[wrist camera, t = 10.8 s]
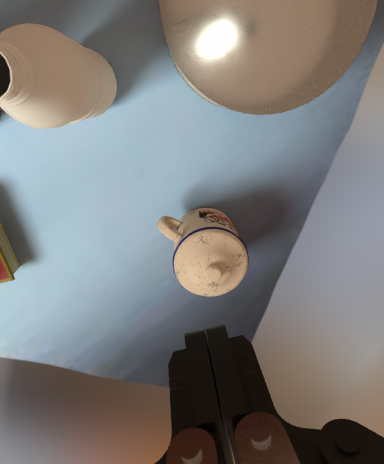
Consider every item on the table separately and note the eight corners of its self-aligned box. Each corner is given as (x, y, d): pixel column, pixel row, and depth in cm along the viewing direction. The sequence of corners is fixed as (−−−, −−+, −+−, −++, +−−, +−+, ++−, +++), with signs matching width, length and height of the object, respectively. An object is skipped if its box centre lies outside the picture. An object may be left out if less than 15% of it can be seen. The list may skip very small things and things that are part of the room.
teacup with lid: (249, 227, 49) (271, 264, 38) (211, 274, 52) (222, 322, 41) (178, 180, 46) (180, 207, 35) (142, 233, 49) (134, 273, 38)
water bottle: (53, 105, 42) (-94, 119, 19) (64, 41, 40) (-90, -34, 16) (112, 124, 43) (42, 158, 20) (126, 63, 41) (65, 21, 17)
